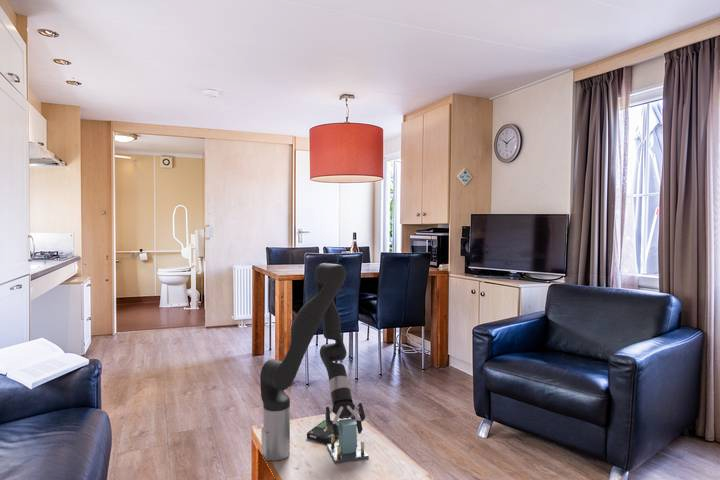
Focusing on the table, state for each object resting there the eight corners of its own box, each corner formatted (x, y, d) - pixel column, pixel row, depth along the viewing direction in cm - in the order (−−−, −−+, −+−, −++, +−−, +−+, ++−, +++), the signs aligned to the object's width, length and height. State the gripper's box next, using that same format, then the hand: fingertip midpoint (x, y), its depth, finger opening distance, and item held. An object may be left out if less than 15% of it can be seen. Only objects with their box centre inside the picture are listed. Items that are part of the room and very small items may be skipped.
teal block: (342, 454, 160) (342, 426, 159) (338, 447, 164) (339, 420, 164) (356, 452, 161) (356, 424, 161) (352, 445, 166) (352, 418, 166)
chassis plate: (335, 463, 155) (335, 449, 155) (327, 447, 167) (327, 433, 166) (368, 458, 159) (368, 444, 159) (358, 442, 170) (358, 429, 170)
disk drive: (330, 446, 169) (348, 429, 182) (330, 438, 169) (348, 422, 182) (306, 440, 173) (325, 424, 187) (306, 432, 173) (325, 417, 186)
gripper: (323, 388, 167) (330, 433, 156) (360, 384, 171) (370, 427, 161) (320, 397, 172) (327, 441, 162) (356, 393, 177) (365, 436, 166)
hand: (348, 434), depth 161 cm, fingers open, 8 cm apart
